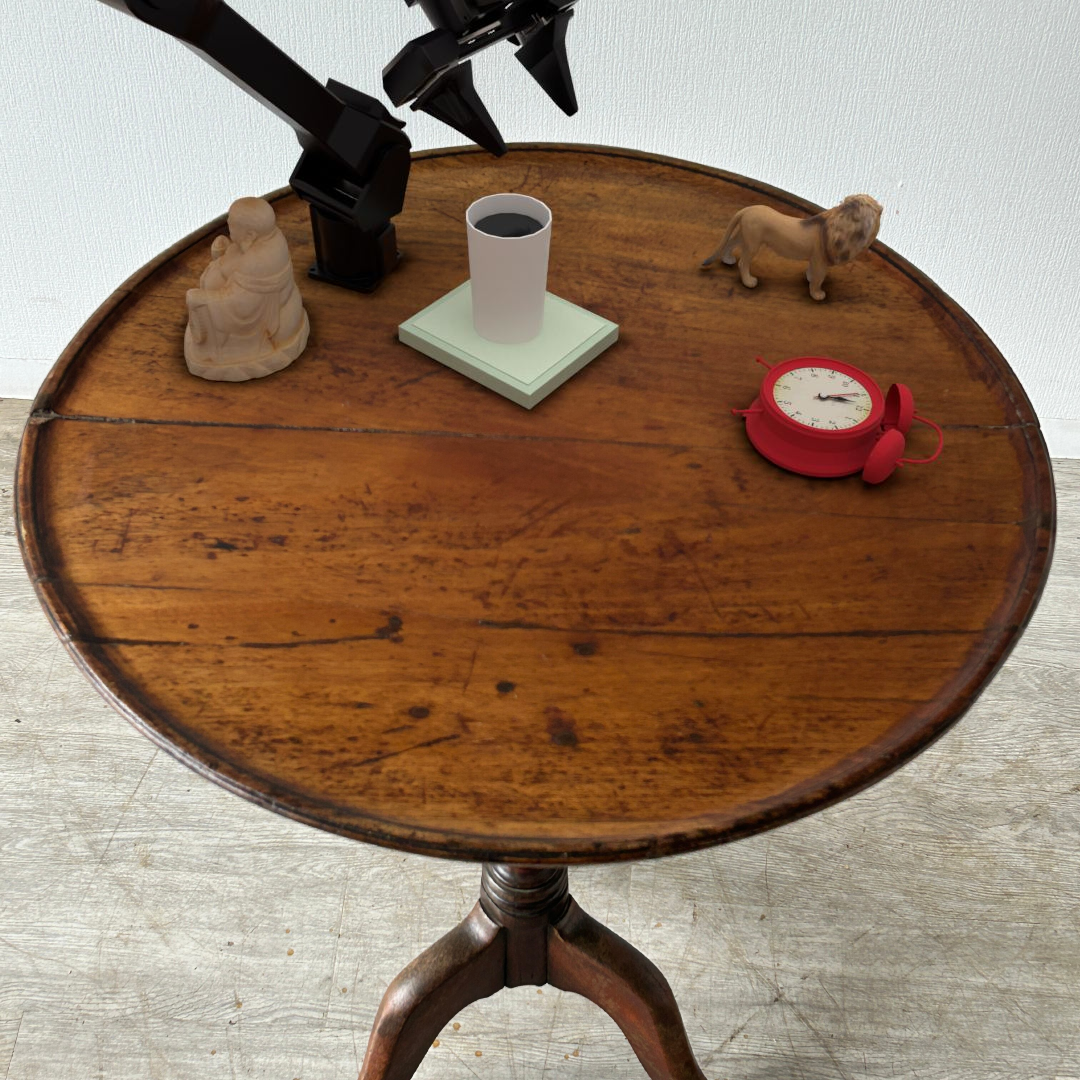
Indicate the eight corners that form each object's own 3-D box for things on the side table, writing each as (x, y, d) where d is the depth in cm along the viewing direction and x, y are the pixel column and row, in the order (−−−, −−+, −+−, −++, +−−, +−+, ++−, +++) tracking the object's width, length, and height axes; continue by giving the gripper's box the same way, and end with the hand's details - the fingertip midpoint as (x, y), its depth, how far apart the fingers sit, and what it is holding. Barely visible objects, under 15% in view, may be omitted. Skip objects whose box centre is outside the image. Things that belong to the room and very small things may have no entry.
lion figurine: (862, 274, 103) (886, 184, 96) (863, 307, 99) (888, 216, 93) (701, 255, 104) (715, 165, 98) (697, 287, 101) (710, 195, 94)
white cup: (552, 304, 96) (557, 197, 88) (542, 351, 91) (546, 242, 84) (475, 296, 96) (473, 189, 89) (461, 343, 91) (458, 234, 84)
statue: (332, 264, 83) (192, 231, 80) (298, 408, 92) (171, 382, 89) (339, 182, 91) (212, 149, 88) (307, 321, 101) (191, 295, 98)
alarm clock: (757, 338, 90) (956, 350, 84) (761, 403, 94) (951, 418, 88) (721, 416, 83) (934, 434, 77) (727, 481, 87) (930, 504, 81)
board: (399, 340, 94) (397, 324, 93) (491, 279, 101) (491, 263, 100) (529, 410, 88) (529, 393, 87) (618, 339, 95) (619, 323, 94)
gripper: (398, -75, 76) (523, 131, 80) (566, -138, 86) (669, 46, 90) (329, 12, 85) (444, 194, 89) (488, -54, 95) (585, 111, 99)
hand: (539, 134), depth 91 cm, fingers open, 9 cm apart
